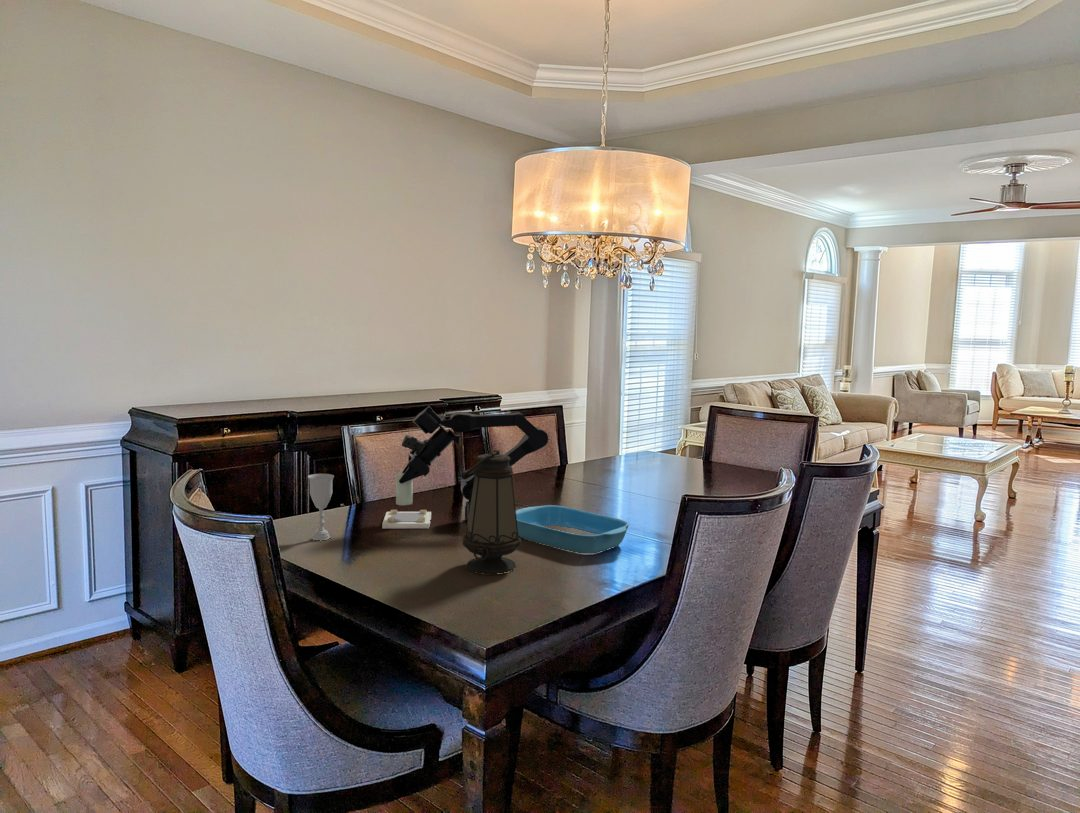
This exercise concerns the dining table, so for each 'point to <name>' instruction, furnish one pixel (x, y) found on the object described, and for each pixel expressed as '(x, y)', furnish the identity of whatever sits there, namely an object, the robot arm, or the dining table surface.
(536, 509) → the casserole dish
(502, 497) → the lantern
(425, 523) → the display tile
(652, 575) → the dining table surface
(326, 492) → the chalice
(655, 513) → the dining table surface
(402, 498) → the sage green capsule
